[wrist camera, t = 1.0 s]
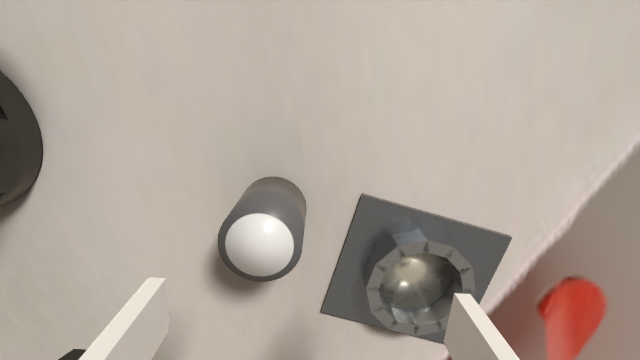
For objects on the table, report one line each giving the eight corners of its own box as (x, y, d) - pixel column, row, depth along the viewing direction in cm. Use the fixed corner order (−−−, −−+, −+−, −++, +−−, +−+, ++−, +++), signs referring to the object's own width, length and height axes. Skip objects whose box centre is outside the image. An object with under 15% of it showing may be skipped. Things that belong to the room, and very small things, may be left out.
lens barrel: (235, 228, 34) (209, 271, 26) (249, 168, 32) (226, 195, 24) (296, 244, 34) (289, 292, 26) (314, 186, 32) (312, 219, 24)
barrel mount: (321, 309, 36) (321, 328, 33) (362, 193, 33) (366, 203, 30) (456, 343, 37) (467, 364, 35) (509, 235, 34) (527, 249, 31)
